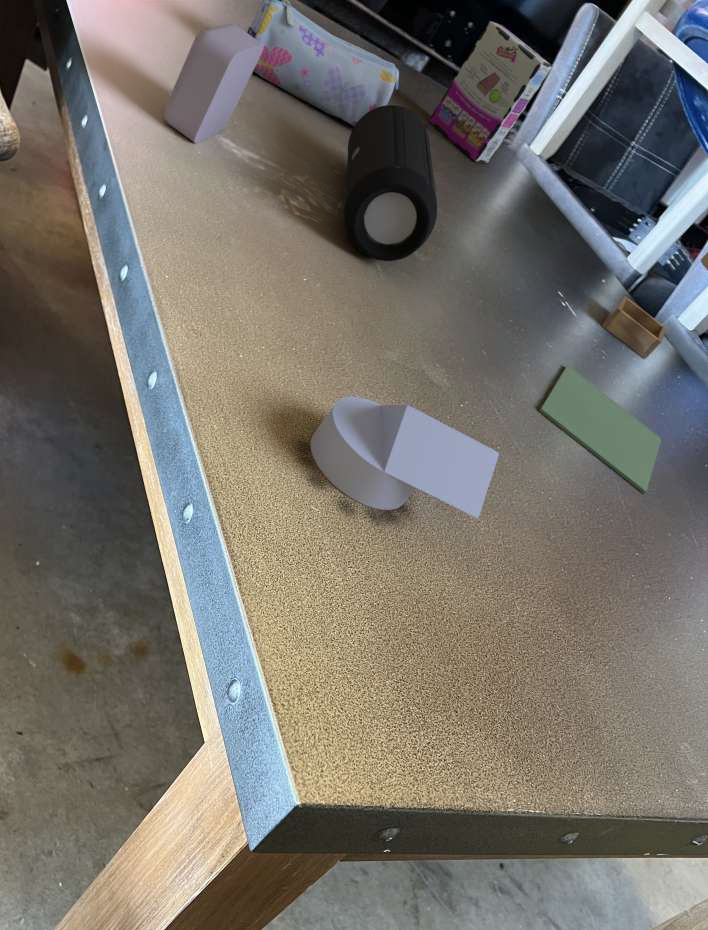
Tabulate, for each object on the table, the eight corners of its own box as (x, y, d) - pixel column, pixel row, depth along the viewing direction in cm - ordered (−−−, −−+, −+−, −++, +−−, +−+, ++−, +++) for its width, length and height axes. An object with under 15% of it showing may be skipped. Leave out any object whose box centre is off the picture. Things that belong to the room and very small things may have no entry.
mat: (659, 441, 113) (661, 438, 113) (643, 494, 101) (646, 491, 101) (565, 367, 114) (567, 364, 114) (538, 411, 101) (541, 408, 101)
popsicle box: (488, 164, 157) (555, 67, 146) (474, 163, 153) (542, 63, 143) (441, 122, 159) (503, 23, 149) (426, 120, 156) (489, 18, 145)
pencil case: (231, 66, 125) (266, -8, 119) (234, 46, 131) (267, -26, 125) (368, 147, 131) (408, 80, 125) (365, 124, 137) (403, 59, 131)
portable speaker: (332, 158, 121) (376, 82, 115) (399, 197, 124) (445, 125, 118) (325, 241, 103) (376, 156, 96) (403, 286, 105) (458, 206, 99)
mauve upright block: (190, 105, 109) (230, 16, 103) (224, 129, 109) (266, 43, 103) (154, 119, 101) (195, 24, 95) (191, 145, 102) (234, 53, 95)
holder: (650, 344, 136) (666, 328, 135) (645, 359, 131) (661, 342, 129) (609, 312, 137) (624, 295, 135) (601, 325, 131) (617, 308, 129)
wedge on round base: (444, 478, 82) (312, 411, 79) (493, 420, 78) (356, 347, 74) (452, 547, 76) (308, 478, 72) (506, 488, 71) (356, 411, 68)
